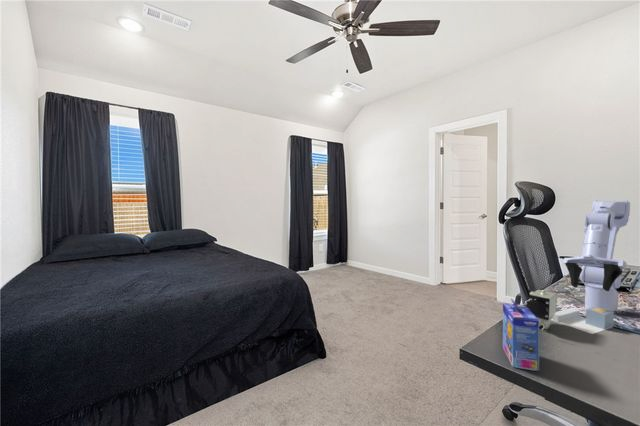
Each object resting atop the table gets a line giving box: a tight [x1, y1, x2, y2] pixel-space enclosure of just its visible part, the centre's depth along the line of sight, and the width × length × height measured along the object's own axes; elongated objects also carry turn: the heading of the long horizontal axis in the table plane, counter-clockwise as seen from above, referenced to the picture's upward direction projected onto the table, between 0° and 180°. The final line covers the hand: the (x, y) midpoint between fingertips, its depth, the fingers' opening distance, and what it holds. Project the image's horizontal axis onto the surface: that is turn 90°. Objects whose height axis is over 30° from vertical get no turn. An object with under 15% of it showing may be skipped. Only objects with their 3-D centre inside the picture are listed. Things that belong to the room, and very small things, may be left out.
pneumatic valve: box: [526, 288, 558, 330], centre depth 88 cm, size 6×12×12 cm, turn 130°
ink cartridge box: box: [502, 298, 540, 372], centre depth 72 cm, size 10×6×14 cm, turn 161°
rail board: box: [550, 307, 615, 335], centre depth 90 cm, size 12×11×3 cm
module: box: [585, 307, 615, 330], centre depth 89 cm, size 5×4×5 cm
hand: (589, 288), depth 89 cm, fingers open, 7 cm apart
